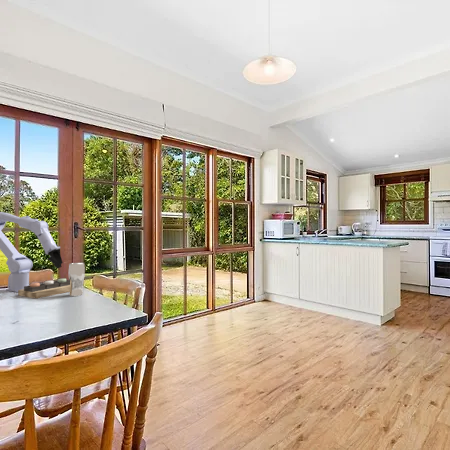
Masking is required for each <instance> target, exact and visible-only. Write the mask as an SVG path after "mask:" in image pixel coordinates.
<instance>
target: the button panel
mask: <svg viewBox="0 0 450 450" xmlns="http://www.w3.org/2000/svg"><path fill="white" fill-rule="evenodd" d="M53 281H54V280H53ZM66 293H70V281H69V279H68V280H67V279H66V282H58V280H56V281H54V284H49V285H45V284H44V283H43V282H42V283H40V286H38V287H30V285H29V286H24V289H21V290H18V292H17V296H20V297H25V298H30V299H41V298H46V297H51V296H56V295H61V294H66Z"/></svg>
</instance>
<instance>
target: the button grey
mask: <svg viewBox="0 0 450 450" xmlns="http://www.w3.org/2000/svg"><path fill="white" fill-rule="evenodd" d="M43 282H44V284H45V285H49V284H54V280H45V281H43Z"/></svg>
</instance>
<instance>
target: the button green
mask: <svg viewBox="0 0 450 450" xmlns="http://www.w3.org/2000/svg"><path fill="white" fill-rule="evenodd" d="M66 280H67V278H57V281H58V282H66Z"/></svg>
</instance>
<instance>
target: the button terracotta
mask: <svg viewBox="0 0 450 450" xmlns="http://www.w3.org/2000/svg"><path fill="white" fill-rule="evenodd" d="M40 284H41V282H31V283H29V286H30V287H38V286H40Z"/></svg>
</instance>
